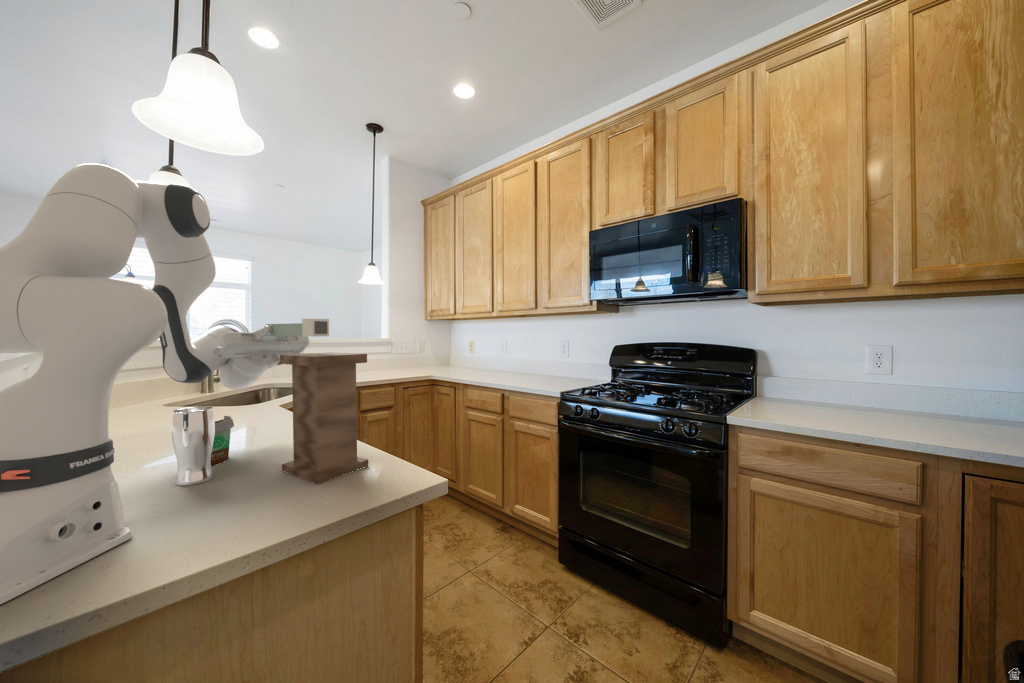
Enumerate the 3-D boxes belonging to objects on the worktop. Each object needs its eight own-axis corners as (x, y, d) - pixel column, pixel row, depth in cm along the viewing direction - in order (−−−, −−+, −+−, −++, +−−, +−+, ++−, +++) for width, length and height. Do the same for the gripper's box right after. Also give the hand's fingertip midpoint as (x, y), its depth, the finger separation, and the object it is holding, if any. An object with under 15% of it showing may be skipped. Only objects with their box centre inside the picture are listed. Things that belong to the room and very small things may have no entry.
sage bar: (263, 335, 95) (263, 320, 95) (280, 335, 99) (280, 320, 98) (312, 336, 83) (312, 318, 83) (329, 336, 87) (329, 319, 87)
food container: (197, 473, 82) (196, 428, 82) (175, 471, 84) (174, 427, 83) (247, 455, 95) (246, 416, 94) (227, 454, 96) (226, 415, 96)
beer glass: (217, 471, 83) (216, 404, 83) (214, 481, 78) (213, 409, 77) (175, 478, 80) (174, 408, 79) (169, 489, 74) (167, 414, 73)
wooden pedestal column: (282, 471, 84) (280, 354, 83) (332, 456, 94) (331, 352, 93) (317, 484, 76) (315, 356, 76) (368, 466, 86) (367, 353, 86)
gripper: (207, 345, 93) (228, 316, 87) (292, 342, 111) (314, 318, 104) (213, 367, 92) (234, 339, 85) (298, 361, 109) (321, 338, 103)
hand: (279, 328), depth 95 cm, fingers closed on sage bar, 3 cm apart
